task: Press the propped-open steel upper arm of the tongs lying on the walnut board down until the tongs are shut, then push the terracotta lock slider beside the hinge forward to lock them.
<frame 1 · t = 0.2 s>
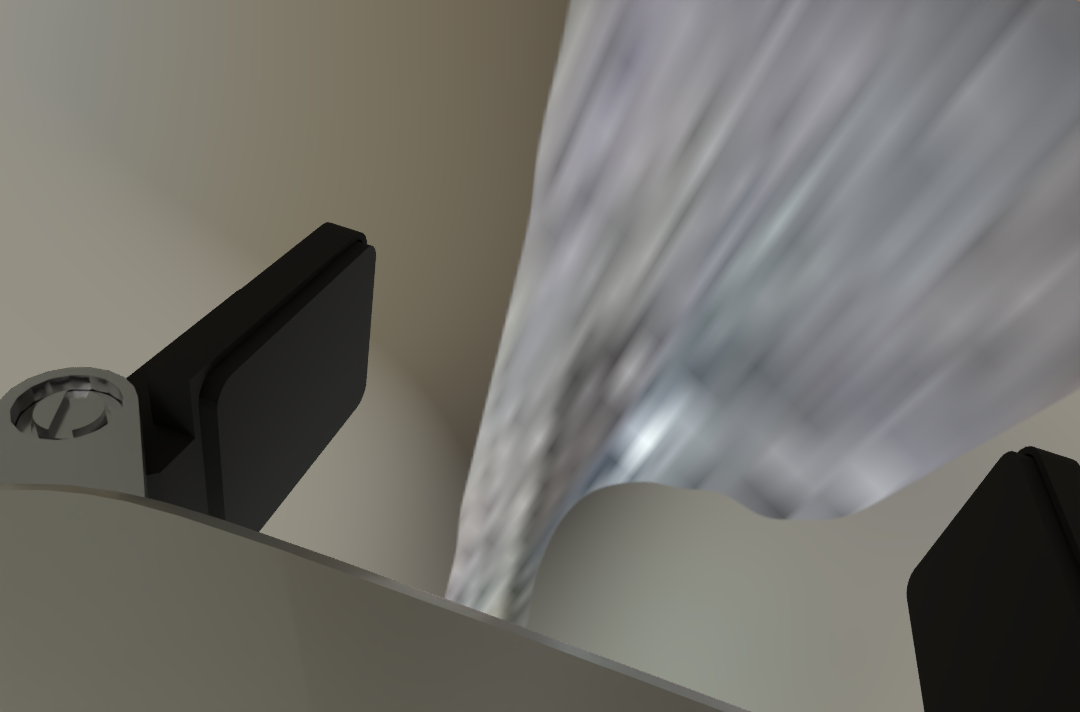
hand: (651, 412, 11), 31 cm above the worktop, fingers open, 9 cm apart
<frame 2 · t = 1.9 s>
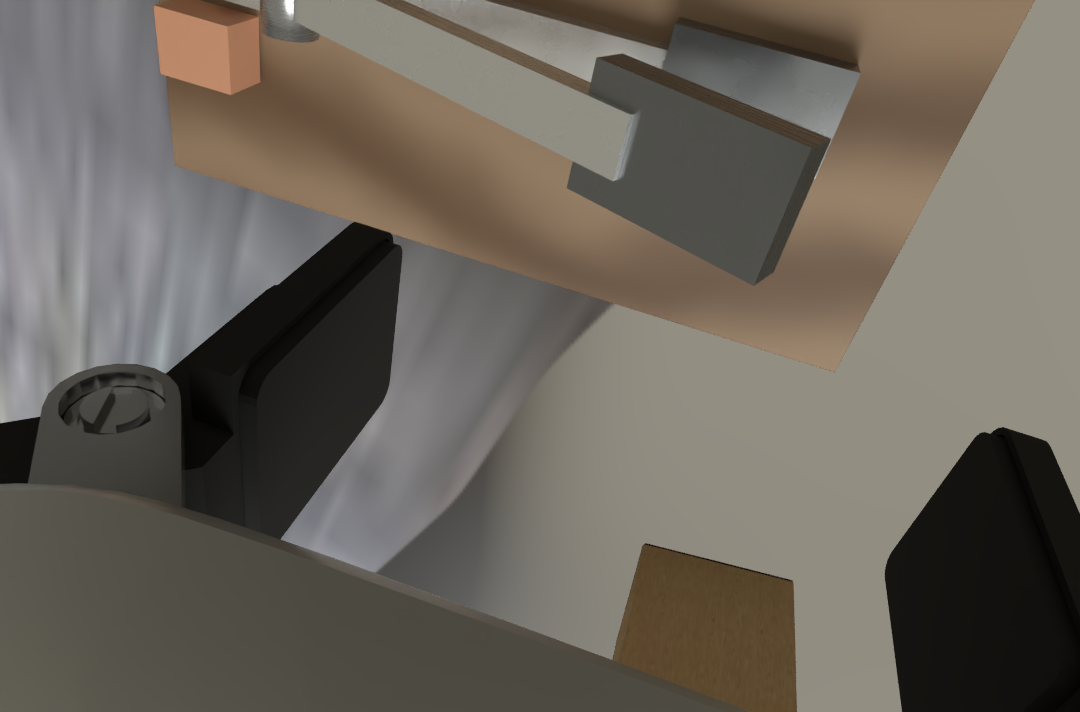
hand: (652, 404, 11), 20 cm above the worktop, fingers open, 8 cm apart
upper tong arm: (480, 74, 22), point 8 cm above the worktop, hinge at 24.0°
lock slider: (209, 45, 29), point 3 cm above the worktop, slide at 0.0 cm
walnut cutting board: (541, 24, 28), on the worktop
sandwich container: (691, 643, 46), on the worktop
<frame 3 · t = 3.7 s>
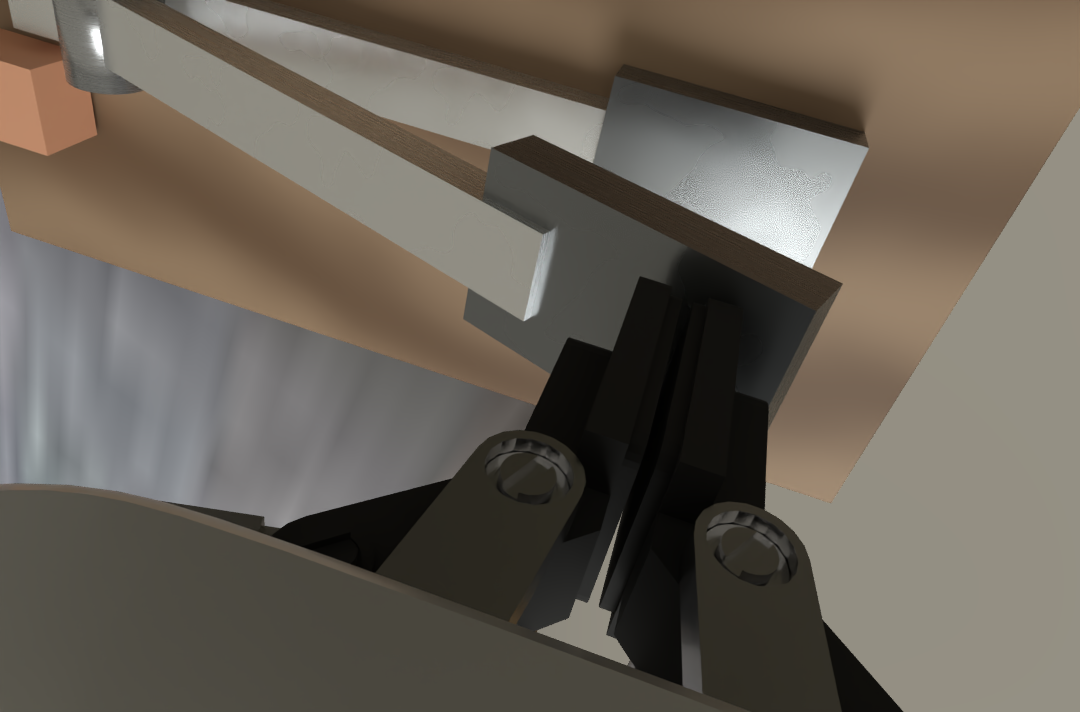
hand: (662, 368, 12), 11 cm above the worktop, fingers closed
upper tong arm: (341, 153, 16), point 7 cm above the worktop, hinge at 21.9°, touching gripper
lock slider: (20, 90, 22), point 3 cm above the worktop, slide at 0.0 cm
tongs lower arm: (157, 2, 21), resting on walnut cutting board
walnut cutting board: (450, 65, 22), on the worktop
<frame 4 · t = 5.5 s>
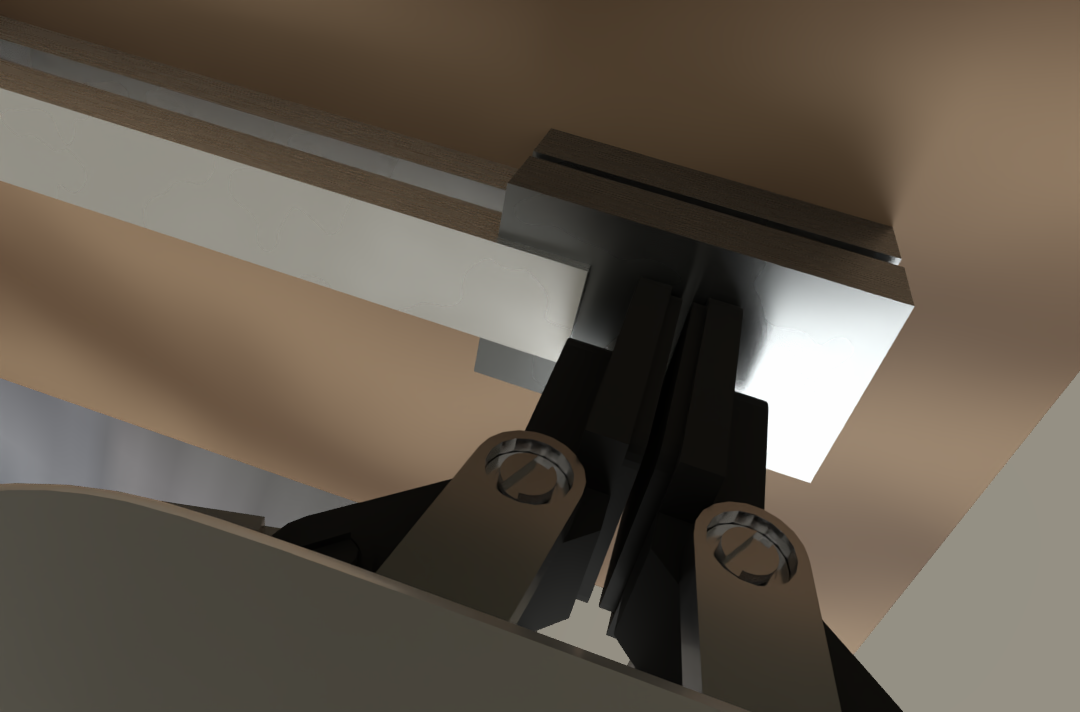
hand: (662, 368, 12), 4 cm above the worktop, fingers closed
upper tong arm: (273, 206, 13), point 4 cm above the worktop, hinge at 0.6°, touching gripper
walnut cutting board: (333, 118, 16), on the worktop
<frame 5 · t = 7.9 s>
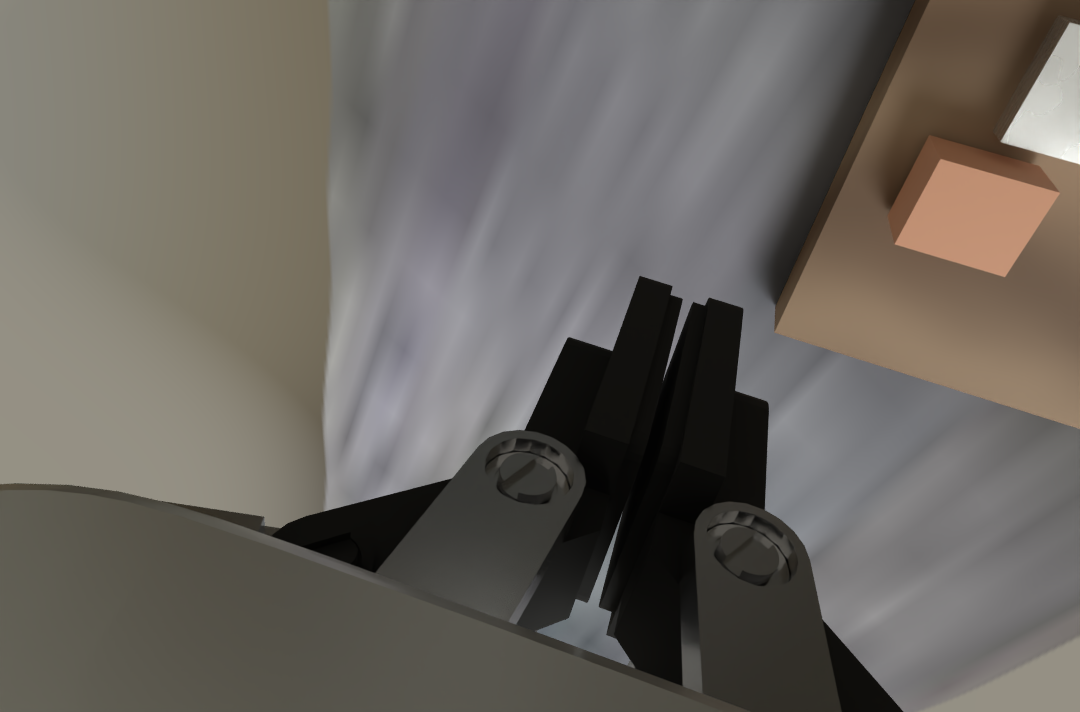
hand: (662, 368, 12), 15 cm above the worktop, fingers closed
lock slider: (966, 205, 21), point 3 cm above the worktop, slide at 0.0 cm
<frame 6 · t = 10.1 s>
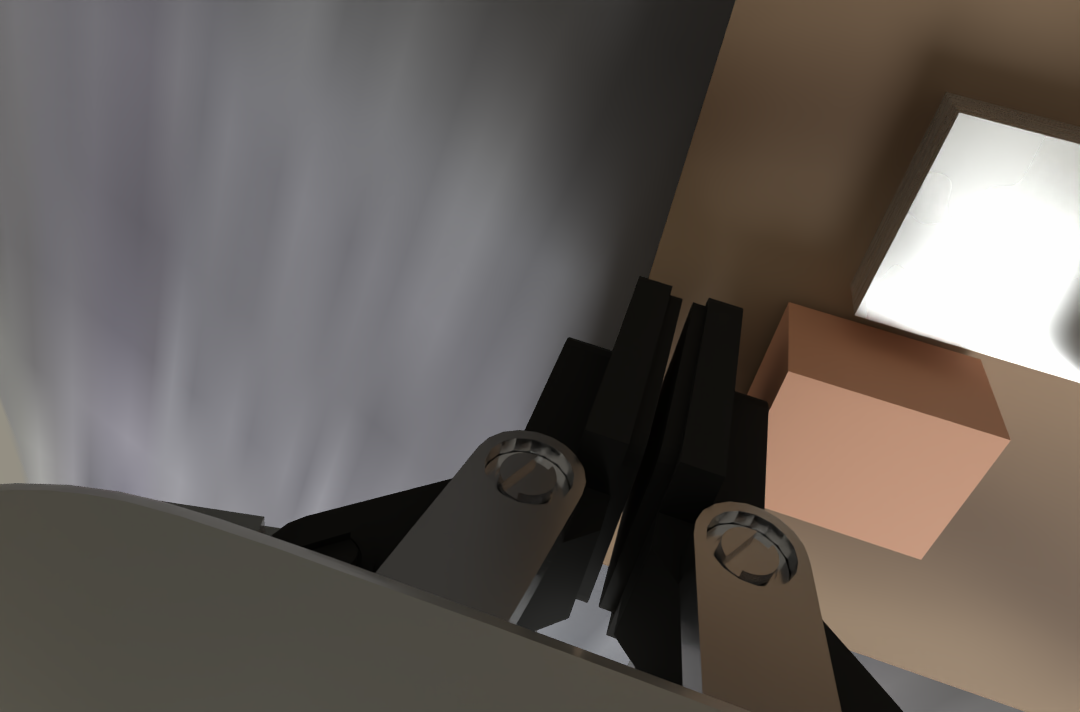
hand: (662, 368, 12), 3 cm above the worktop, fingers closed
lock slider: (853, 428, 12), point 3 cm above the worktop, slide at 0.7 cm, touching gripper
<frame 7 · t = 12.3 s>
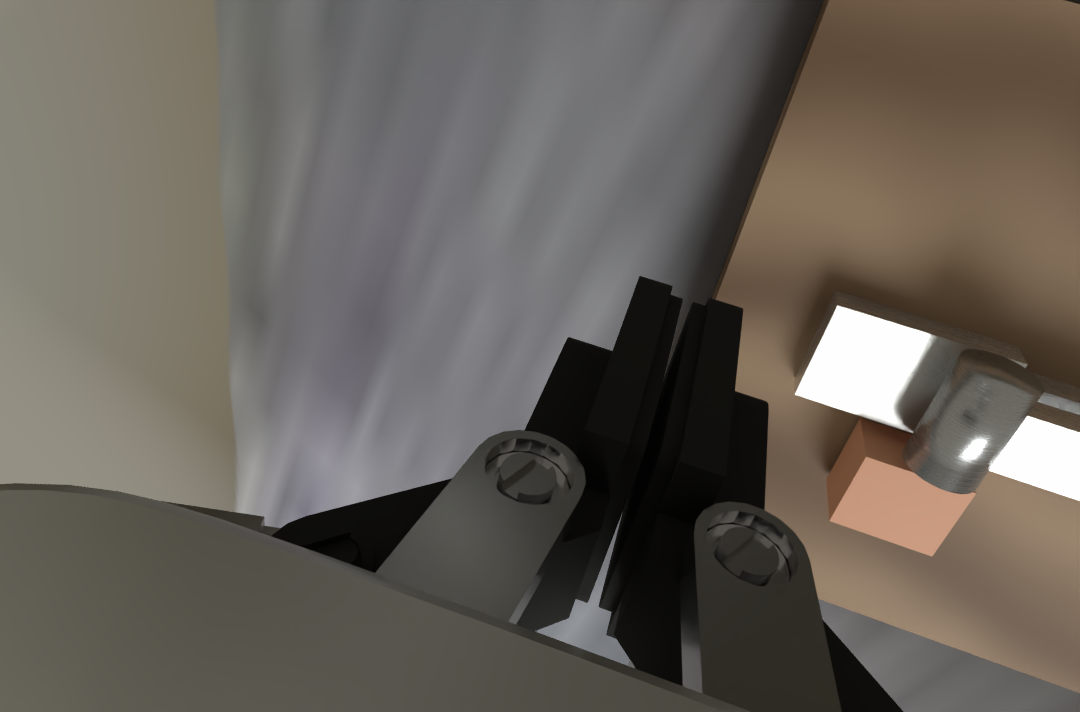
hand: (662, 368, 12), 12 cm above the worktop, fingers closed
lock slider: (895, 486, 22), point 3 cm above the worktop, slide at 3.7 cm
tongs lower arm: (953, 379, 22), resting on walnut cutting board
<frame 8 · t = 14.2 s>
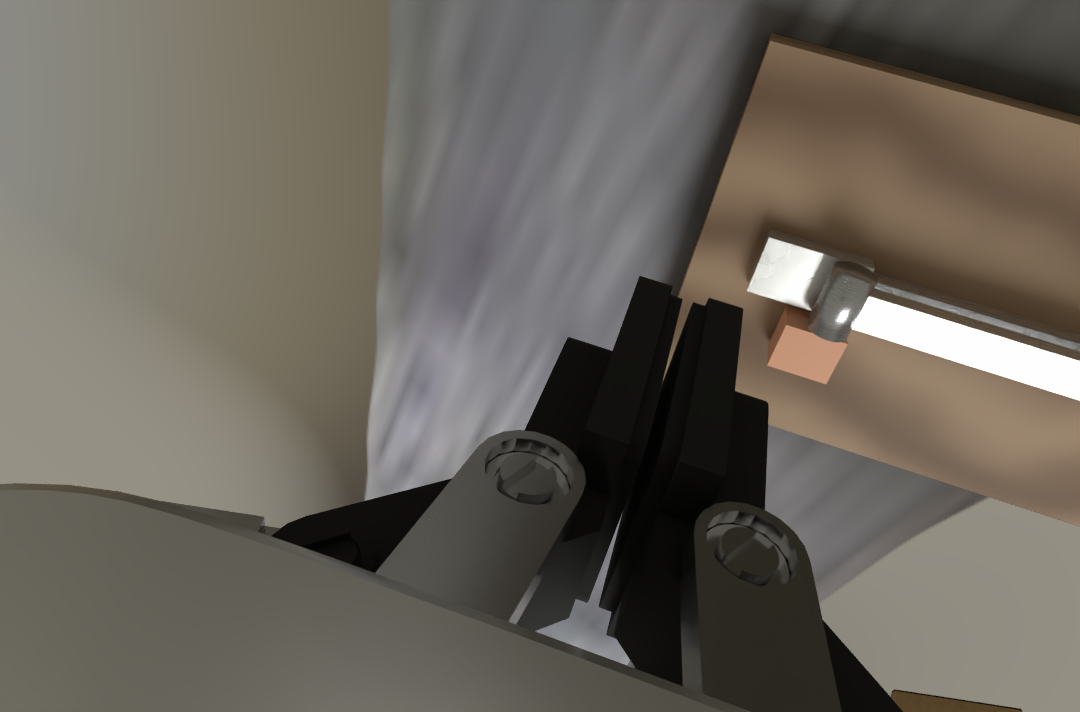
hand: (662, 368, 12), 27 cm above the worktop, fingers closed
upper tong arm: (1038, 363, 34), point 4 cm above the worktop, hinge at 0.4°
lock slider: (806, 344, 38), point 3 cm above the worktop, slide at 3.7 cm
tongs lower arm: (838, 280, 37), resting on walnut cutting board
walnut cutting board: (996, 312, 38), on the worktop
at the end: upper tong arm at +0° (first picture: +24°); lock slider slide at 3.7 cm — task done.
